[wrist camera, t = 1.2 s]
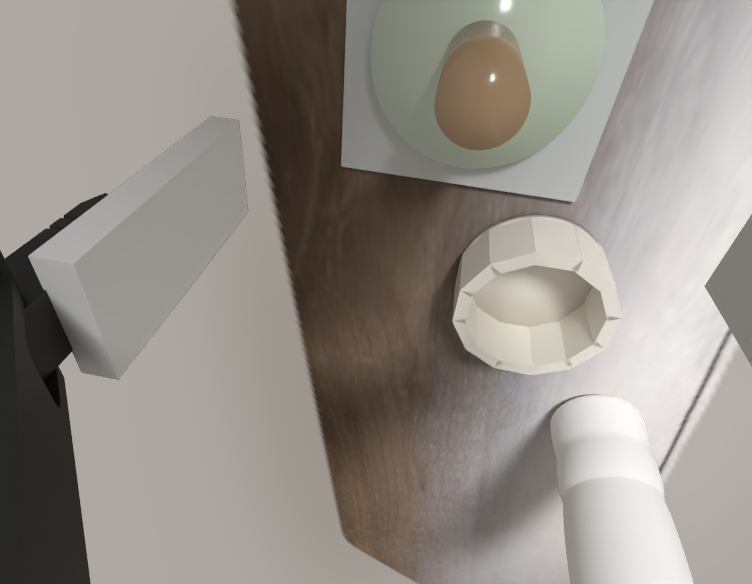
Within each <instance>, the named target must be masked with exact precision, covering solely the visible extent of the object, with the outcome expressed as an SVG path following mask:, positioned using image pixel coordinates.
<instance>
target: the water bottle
mask: <svg viewBox="0 0 752 584" xmlns="http://www.w3.org/2000/svg"><path fill="white" fill-rule="evenodd" d="M550 430H551V437H552V443H553V448H554V452H555V455H556V459H557V465H556V472H557V482H558V488H559V492H560V496H561V499H562V501H563V517H564V533H565V543H566V553H567V561H568V569H569V577H570V584H694V583H693V580H692V576H691V573H690V570H689V566H688V563H687V560H686V557H685V554H684V551H683V548H682V545H681V542H680V539H679V536H678V533H677V530H676V527H675V525H674V522H673V519H672V517H671V514H670V512H669V509H668V507H667V505H666V503H665V500H664V488H663V483H662V479H661V476H660V472H659V469H658V467H657V464H656V462H655V460H654V458H653V456H652V454H651V448H650V441H649V437H648V433H647V429H646V426H645V422H644V419H643V417H642V415H641V413H640V412H639V411H638V410H637V408H636V407H634V406H633V405H632V404H630V403H629V402H627V401H625V400H623V399H620V398H617V397H613V396H608V395H586V396H581V397H577V398H574V399H572V400H569V401H567V402H566V403H564V404H563V405H561V406H560V407H559V408H558V409H557V410H556V411H555V412H554V414H553V416H552V418H551V422H550Z"/></svg>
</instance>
